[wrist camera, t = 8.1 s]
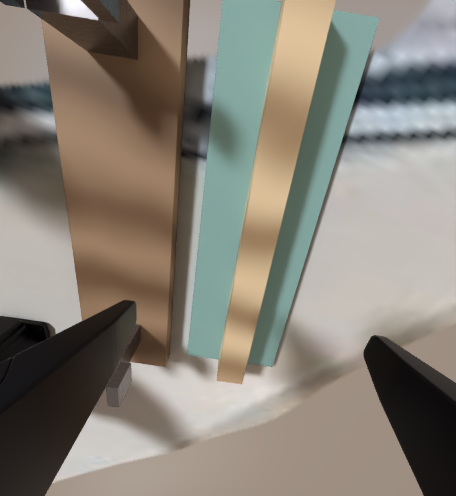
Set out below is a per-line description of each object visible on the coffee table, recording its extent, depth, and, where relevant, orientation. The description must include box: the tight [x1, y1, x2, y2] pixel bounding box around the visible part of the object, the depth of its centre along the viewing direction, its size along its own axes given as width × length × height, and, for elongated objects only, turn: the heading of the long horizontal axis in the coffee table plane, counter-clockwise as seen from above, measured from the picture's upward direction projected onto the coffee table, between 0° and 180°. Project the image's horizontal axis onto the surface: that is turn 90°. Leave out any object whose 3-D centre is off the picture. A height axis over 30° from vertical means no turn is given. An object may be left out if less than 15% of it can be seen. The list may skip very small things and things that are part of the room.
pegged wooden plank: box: [0, 0, 141, 407], centre depth 14 cm, size 24×5×6 cm, turn 172°
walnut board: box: [41, 0, 190, 367], centre depth 17 cm, size 30×8×2 cm, turn 172°
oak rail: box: [217, 0, 336, 384], centre depth 17 cm, size 28×2×2 cm, turn 172°
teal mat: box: [187, 0, 380, 367], centre depth 18 cm, size 28×9×1 cm, turn 172°
